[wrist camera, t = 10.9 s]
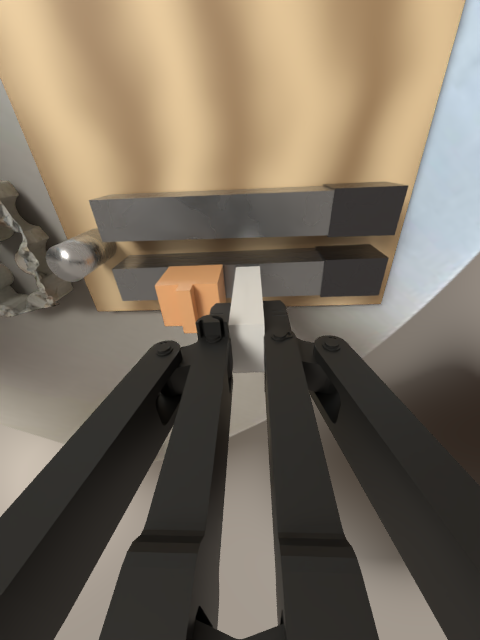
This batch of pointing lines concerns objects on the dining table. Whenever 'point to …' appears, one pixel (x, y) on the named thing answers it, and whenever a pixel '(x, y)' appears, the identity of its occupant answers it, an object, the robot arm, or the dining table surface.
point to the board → (222, 105)
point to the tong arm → (252, 212)
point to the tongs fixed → (231, 267)
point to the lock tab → (189, 294)
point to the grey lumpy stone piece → (26, 261)
